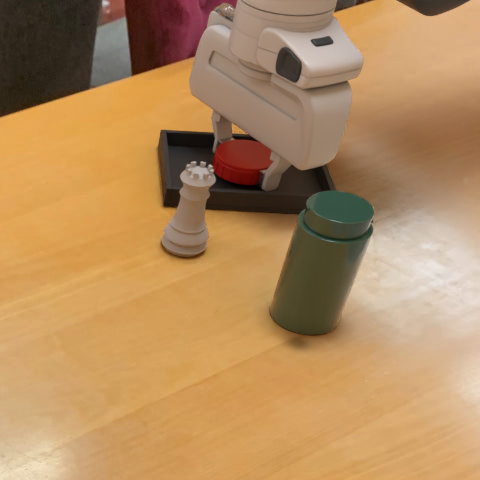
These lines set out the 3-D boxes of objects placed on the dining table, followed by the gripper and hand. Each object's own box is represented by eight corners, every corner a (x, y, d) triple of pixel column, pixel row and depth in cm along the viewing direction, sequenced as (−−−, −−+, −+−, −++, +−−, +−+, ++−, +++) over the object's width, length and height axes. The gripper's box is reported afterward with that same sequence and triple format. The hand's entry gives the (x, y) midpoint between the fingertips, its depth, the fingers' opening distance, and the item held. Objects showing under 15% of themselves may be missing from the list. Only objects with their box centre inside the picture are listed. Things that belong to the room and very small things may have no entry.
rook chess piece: (213, 256, 86) (232, 178, 80) (168, 260, 85) (184, 181, 79) (197, 232, 89) (215, 154, 83) (154, 235, 88) (168, 157, 82)
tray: (312, 155, 100) (317, 137, 98) (333, 216, 91) (339, 198, 89) (157, 146, 101) (160, 129, 99) (163, 206, 92) (166, 188, 90)
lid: (236, 190, 92) (240, 174, 91) (199, 162, 96) (203, 145, 94) (287, 178, 94) (292, 161, 92) (249, 150, 98) (253, 134, 96)
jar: (331, 297, 81) (371, 189, 74) (344, 337, 77) (387, 228, 70) (265, 293, 82) (297, 185, 74) (274, 333, 78) (309, 223, 70)
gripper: (188, 0, 90) (165, 135, 100) (321, 78, 78) (279, 222, 88) (240, -8, 92) (211, 125, 102) (377, 66, 79) (329, 209, 90)
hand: (243, 171), depth 95 cm, fingers closed on lid, 6 cm apart
